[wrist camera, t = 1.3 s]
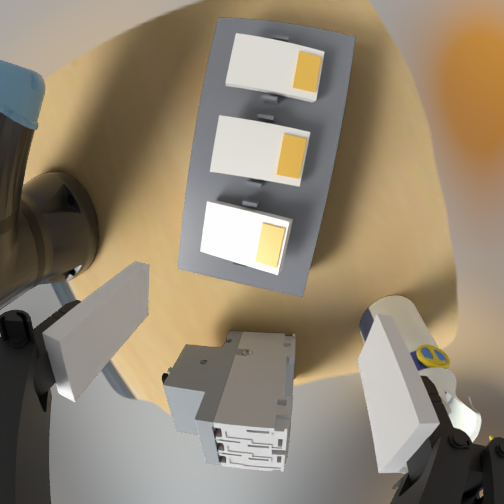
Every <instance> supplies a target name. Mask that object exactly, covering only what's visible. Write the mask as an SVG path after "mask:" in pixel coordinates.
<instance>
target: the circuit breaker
mask: <svg viewBox="0 0 504 504" xmlns="http://www.w3.org/2000/svg"><path fill="white" fill-rule="evenodd" d="M295 346H296V334H292V336H285V333H261V332H243V331H229V333H228V335H227V338H226V343H224V346H223V347H222V348H220V347H208V346H198V345H188V344H187V345H185V347H184V349H183V350H182V352H181V354H180V356H179V357H178V359H177V361H176V363H175V364H174V366H173V368H171V367H170V368H169V369H168V371H167V372H168V374H167V373H163V375H162V381H163V387H164V390H165V394H166V397H167V401H168V404H169V408H170V411H171V415H172V418H173V421H174V424H175V428H176V431H178V432H184V433H189V434H195V435H199V439H200V443H201V446H202V450H203V454H204V458H205V461H206V463H208V464H214V465H220V466H227V467H235V468H243V469H254V470H265V471H273V469H276V470H281V471H282V472H283V471H284V467H285V463H286V460H287V457H288V447H289V438H290V428H291V414H292V402H293V395H292V394H293V380H294V365H295Z"/></svg>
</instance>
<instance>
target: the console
mask: <svg viewBox="0 0 504 504" xmlns="http://www.w3.org/2000/svg"><path fill="white" fill-rule="evenodd" d="M236 33H239V34H246V35H252V36H258V37H264V38H269V39H274V40H279V41H284V42H288V43H293V44H297V45H301V46H305V47H309V48H313V49H317V50H320V51H324V58H323V64H322V70H321V75H320V81H319V87H318V93H317V98H316V101H315V102H308V101H303V100H299V99H295V98H290V97H286V96H281V95H276V94H271V93H266V92H261V91H255V90H249V89H243V88H237V87H230V86H226V84H225V82H226V77H227V72H228V68H229V63H230V58H231V53H232V49H233V44H234V40H235V35H236ZM354 44H355V37H354V36H350V35H346V34H342V33H338V32H333V31H329V30H324V29H319V28H314V27H308V26H302V25H296V24H290V23H283V22H275V21H266V20H256V19H243V18H224V17H218V21H217V25H216V30H215V34H214V38H213V42H212V47H211V51H210V55H209V60H208V65H207V69H206V74H205V79H204V84H203V89H202V94H201V99H200V105H199V110H198V116H197V121H196V127H195V133H194V139H193V145H192V151H191V158H190V165H189V171H188V179H187V186H186V193H185V201H184V209H183V218H182V226H181V236H180V245H179V256H178V267H177V269H180V270H185V271H189V272H193V273H197V274H201V275H206V276H210V277H214V278H218V279H223V280H227V281H232V282H236V283H240V284H245V285H249V286H254V287H258V288H263V289H268V290H272V291H277V292H281V293H286V294H291V295H296V296H300V297H302V296H303V292H304V289H305V285H306V281H307V277H308V274H309V270H310V266H311V262H312V258H313V254H314V250H315V246H316V242H317V238H318V234H319V230H320V225H321V221H322V217H323V213H324V208H325V204H326V199H327V195H328V190H329V186H330V181H331V176H332V172H333V167H334V162H335V157H336V152H337V147H338V142H339V136H340V131H341V126H342V120H343V114H344V109H345V103H346V97H347V91H348V85H349V78H350V72H351V65H352V58H353V51H354ZM219 115H222V116H229V117H235V118H241V119H248V120H253V121H259V122H265V123H270V124H275V125H280V126H285V127H290V128H294V129H299V130H303V131H308V132H310V137H309V142H308V147H307V152H306V157H305V162H304V167H303V172H302V177H301V182H300V187H299V186H293V185H288V184H283V183H277V182H272V181H266V180H260V179H254V178H248V177H242V176H236V175H229V174H222V173H216V172H210V167H211V160H212V154H213V148H214V142H215V136H216V131H217V125H218V119H219ZM211 200H217V201H221V202H225V203H230V204H234V205H238V206H242V207H246V208H250V209H254V210H258V211H262V212H266V213H270V214H274V215H278V216H282V217H286V218H290V219H293V221H292V226H291V230H290V235H289V240H288V244H287V249H286V253H285V258H284V262H283V267H282V271H281V272H280V273H279V274H278V275H276V274H272V273H269V272H266V271H262V270H259V269H256V268H252V267H249V266H246V265H243V264H239V263H236V262H233V261H230V260H226V259H223V258H220V257H217V256H213V255H210V254H207V253H204V252H201V251H200V250H201V242H202V234H203V226H204V219H205V212H206V205H207V201H211Z"/></svg>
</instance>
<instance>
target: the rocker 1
mask: <svg viewBox="0 0 504 504" xmlns="http://www.w3.org/2000/svg"><path fill="white" fill-rule="evenodd" d="M323 58H324V51H320V50H317V49H313V48H309V47H305V46H301V45H297V44H293V43H288V42H284V41H279V40H274V39H269V38H264V37H258V36H252V35H246V34H239V33H236V35H235V40H234V44H233V49H232V53H231V58H230V63H229V68H228V72H227V77H226V82H225V84H226V86H230V87H237V88H243V89H249V90H255V91H261V92H266V93H271V94H276V95H281V96H286V97H290V98H295V99H299V100H303V101H308V102H315V101H316V98H317V93H318V87H319V81H320V75H321V70H322V64H323Z"/></svg>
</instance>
